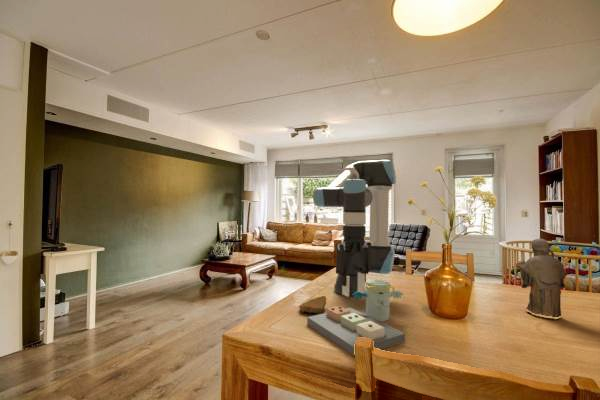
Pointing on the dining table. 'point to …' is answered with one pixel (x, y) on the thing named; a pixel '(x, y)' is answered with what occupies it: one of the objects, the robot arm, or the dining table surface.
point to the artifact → (314, 305)
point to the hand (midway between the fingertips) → (353, 293)
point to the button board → (353, 332)
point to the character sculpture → (378, 298)
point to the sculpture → (543, 279)
